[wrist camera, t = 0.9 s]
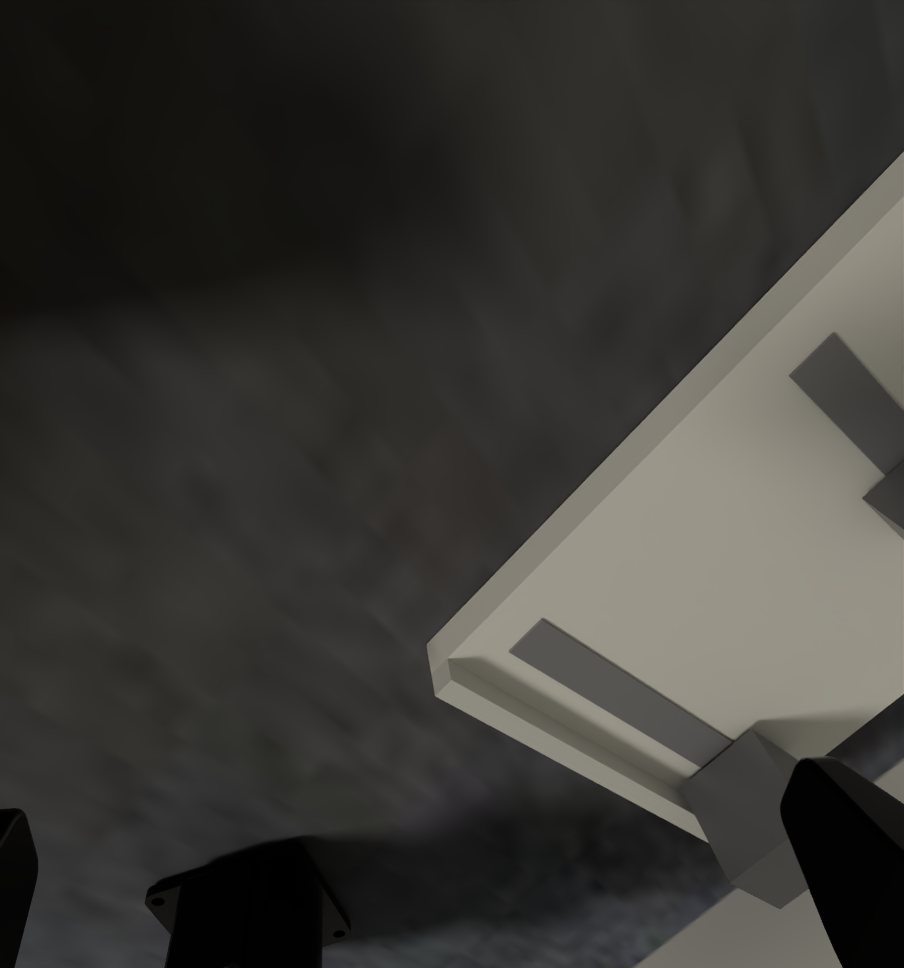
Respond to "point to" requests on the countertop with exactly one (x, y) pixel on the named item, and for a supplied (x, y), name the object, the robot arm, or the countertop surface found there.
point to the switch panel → (719, 549)
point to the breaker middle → (889, 499)
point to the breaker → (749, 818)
